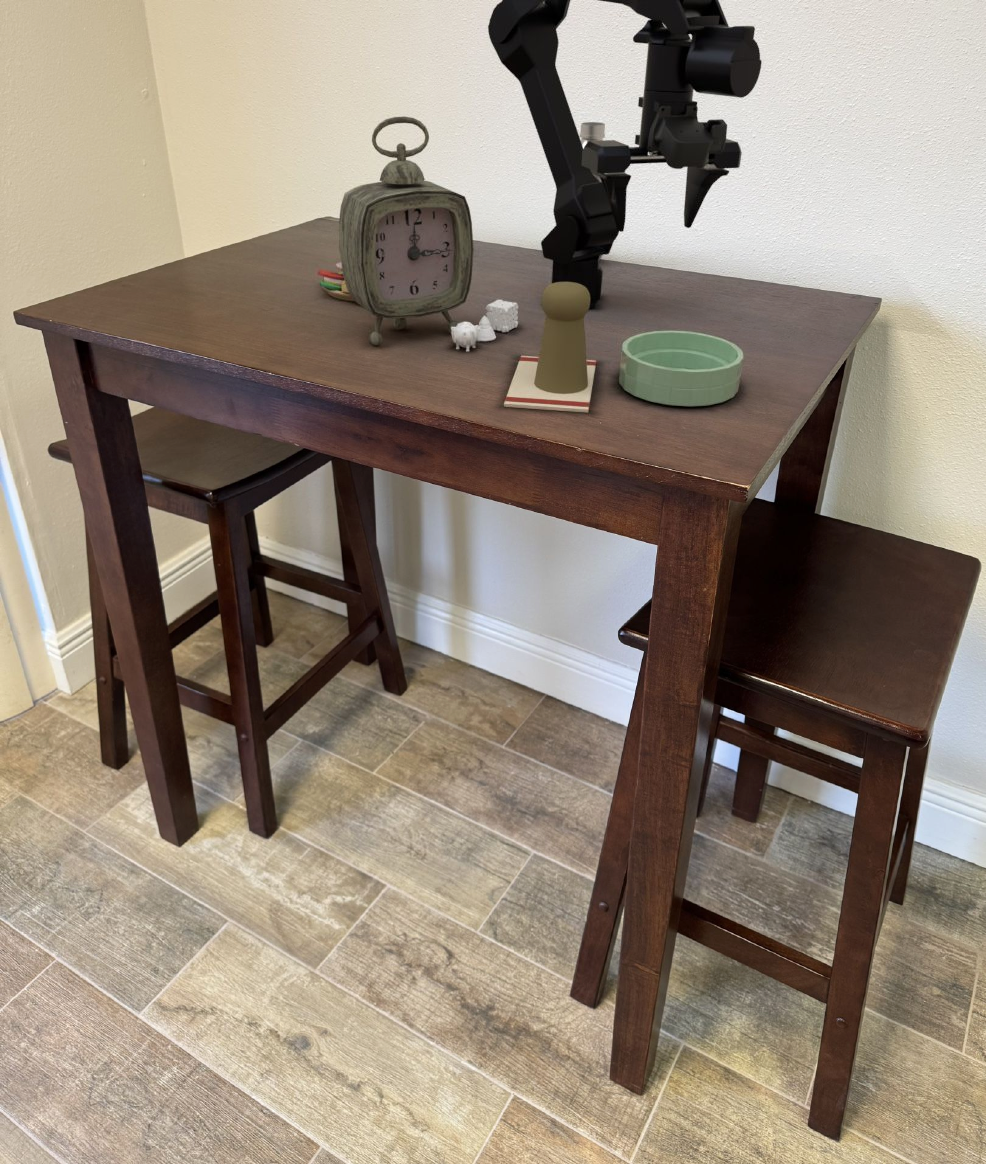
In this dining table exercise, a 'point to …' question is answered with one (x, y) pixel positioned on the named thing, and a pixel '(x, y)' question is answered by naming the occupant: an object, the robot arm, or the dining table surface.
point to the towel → (534, 398)
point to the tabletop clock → (405, 241)
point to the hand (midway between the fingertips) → (654, 228)
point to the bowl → (680, 368)
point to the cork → (563, 339)
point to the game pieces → (487, 324)
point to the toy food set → (335, 283)
